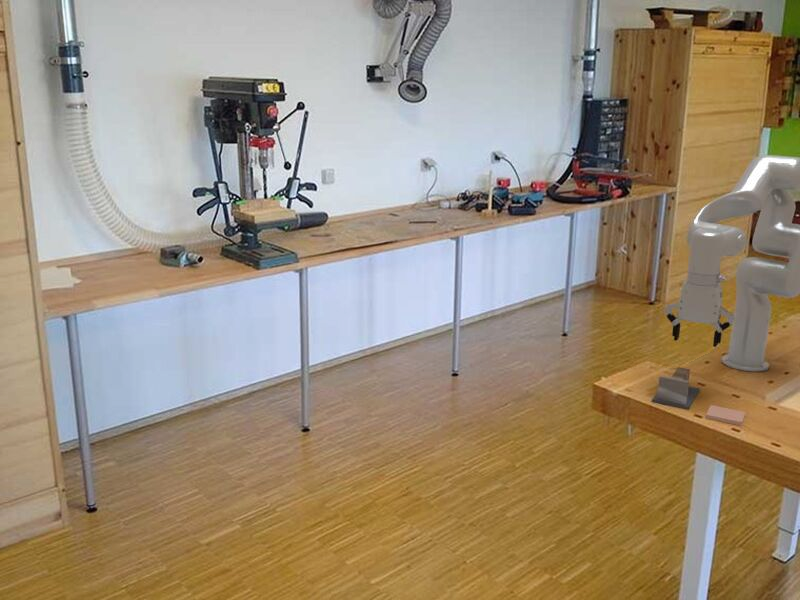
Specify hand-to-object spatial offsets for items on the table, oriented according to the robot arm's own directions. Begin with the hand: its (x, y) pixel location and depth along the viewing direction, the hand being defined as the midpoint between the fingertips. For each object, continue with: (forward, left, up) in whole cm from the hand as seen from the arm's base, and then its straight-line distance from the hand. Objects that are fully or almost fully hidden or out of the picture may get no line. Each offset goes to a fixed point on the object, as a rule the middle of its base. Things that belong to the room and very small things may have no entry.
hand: (695, 342), depth 203 cm
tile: (+9, +11, -13) cm, 20 cm away
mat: (+6, -2, -14) cm, 15 cm away
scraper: (+5, -2, -13) cm, 14 cm away
